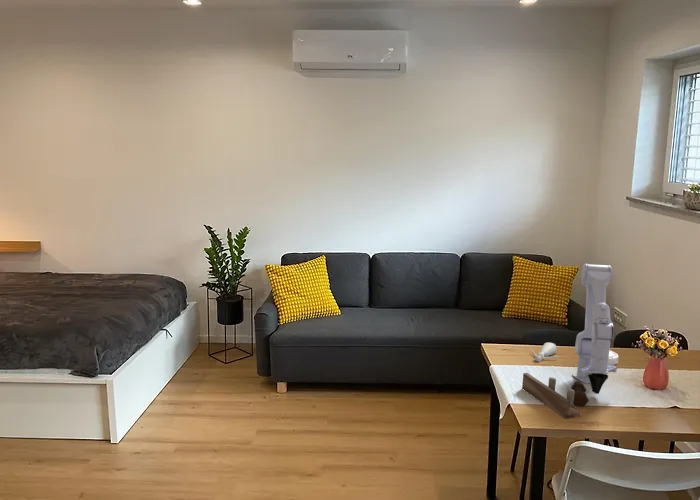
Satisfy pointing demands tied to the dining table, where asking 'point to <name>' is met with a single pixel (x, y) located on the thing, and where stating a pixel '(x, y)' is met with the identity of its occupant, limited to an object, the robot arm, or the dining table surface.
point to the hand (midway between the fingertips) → (595, 392)
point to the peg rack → (551, 396)
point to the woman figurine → (546, 351)
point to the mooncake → (612, 358)
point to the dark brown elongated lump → (579, 394)
